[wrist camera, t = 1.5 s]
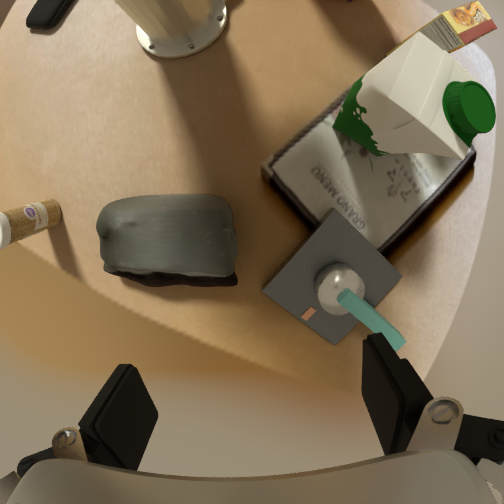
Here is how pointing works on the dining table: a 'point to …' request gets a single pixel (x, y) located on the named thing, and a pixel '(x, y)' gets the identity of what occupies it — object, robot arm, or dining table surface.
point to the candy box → (457, 27)
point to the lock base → (318, 258)
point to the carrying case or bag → (46, 13)
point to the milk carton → (416, 104)
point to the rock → (169, 240)
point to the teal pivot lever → (352, 300)
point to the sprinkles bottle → (28, 221)
